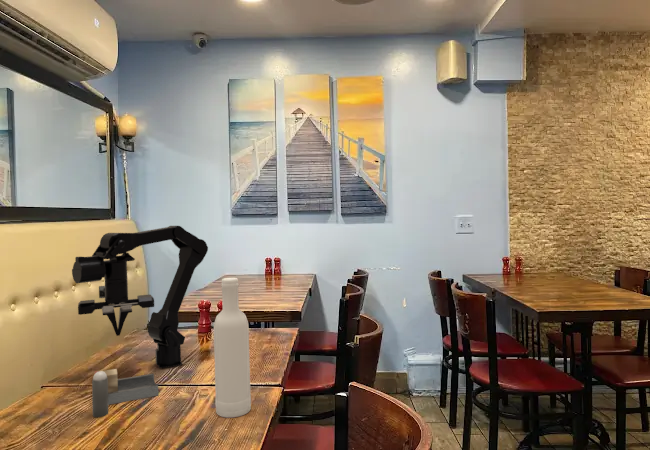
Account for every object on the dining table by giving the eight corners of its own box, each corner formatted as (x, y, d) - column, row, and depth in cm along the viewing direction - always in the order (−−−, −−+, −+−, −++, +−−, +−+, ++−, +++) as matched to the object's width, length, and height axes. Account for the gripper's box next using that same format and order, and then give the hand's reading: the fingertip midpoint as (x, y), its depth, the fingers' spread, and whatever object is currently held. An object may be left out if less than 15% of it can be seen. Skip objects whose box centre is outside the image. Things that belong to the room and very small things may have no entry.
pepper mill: (108, 410, 107) (107, 368, 107) (108, 415, 105) (108, 372, 104) (92, 412, 106) (91, 370, 106) (92, 418, 103) (92, 374, 103)
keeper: (117, 388, 118) (116, 368, 118) (118, 394, 114) (117, 373, 114) (99, 391, 116) (98, 371, 116) (99, 397, 112) (99, 376, 112)
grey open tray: (153, 382, 125) (153, 362, 124) (158, 395, 116) (157, 373, 115) (95, 392, 118) (94, 371, 118) (95, 407, 109) (94, 383, 109)
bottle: (257, 405, 108) (254, 276, 107) (240, 420, 101) (236, 281, 100) (227, 401, 111) (223, 275, 110) (208, 415, 103) (204, 280, 102)
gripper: (149, 272, 139) (150, 325, 139) (78, 278, 130) (80, 333, 131) (153, 277, 129) (155, 333, 129) (77, 283, 121) (79, 343, 121)
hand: (118, 335), depth 128 cm, fingers closed
